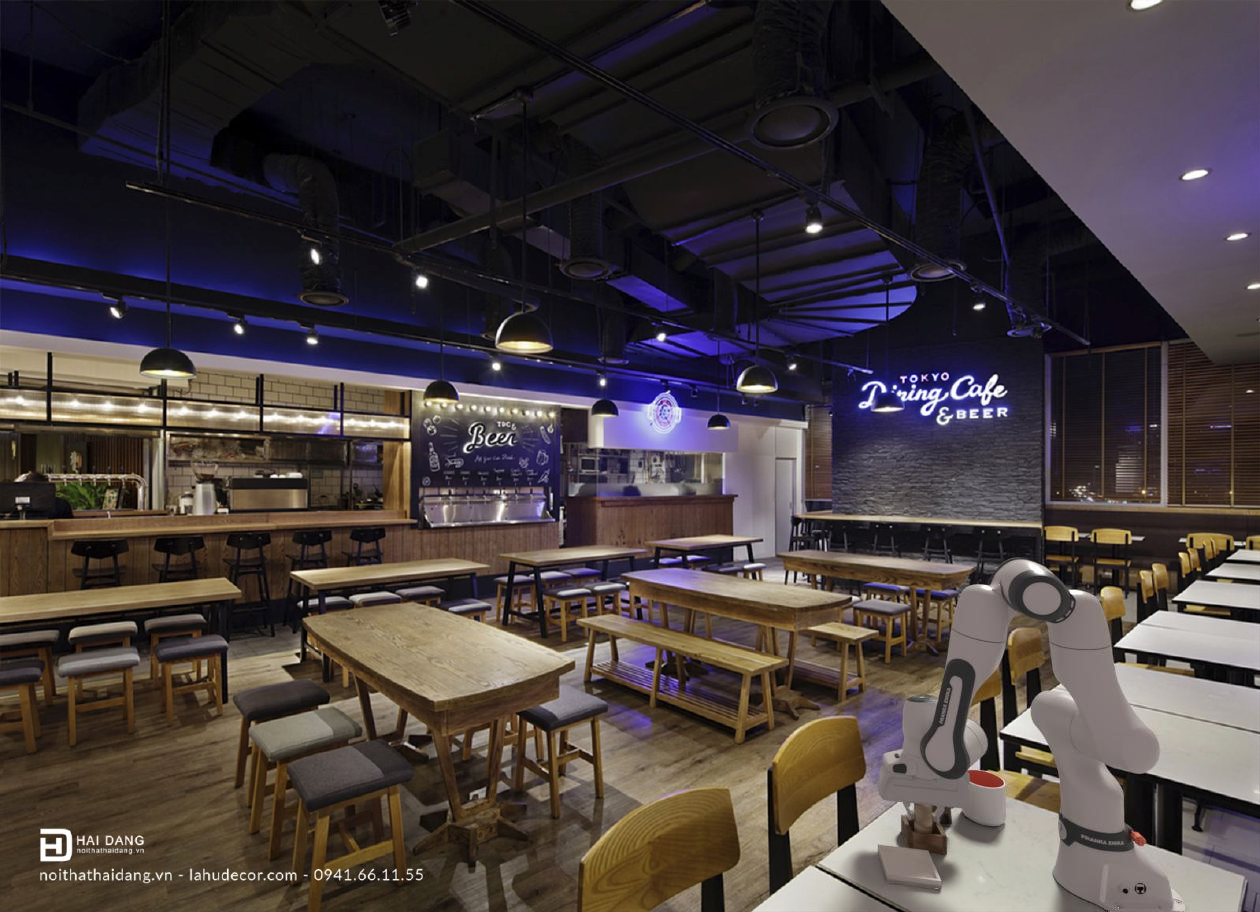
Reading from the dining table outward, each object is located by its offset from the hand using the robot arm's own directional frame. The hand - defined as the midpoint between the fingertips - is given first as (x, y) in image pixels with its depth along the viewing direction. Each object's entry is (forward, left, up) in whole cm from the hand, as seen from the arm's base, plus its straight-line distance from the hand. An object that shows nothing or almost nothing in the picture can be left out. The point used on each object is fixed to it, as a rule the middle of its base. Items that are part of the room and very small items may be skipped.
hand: (923, 820), depth 150 cm
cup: (-18, -15, -5) cm, 24 cm away
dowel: (0, 0, -5) cm, 5 cm away
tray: (+6, +12, -5) cm, 14 cm away
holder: (0, 0, -5) cm, 5 cm away
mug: (-7, -10, -5) cm, 13 cm away
